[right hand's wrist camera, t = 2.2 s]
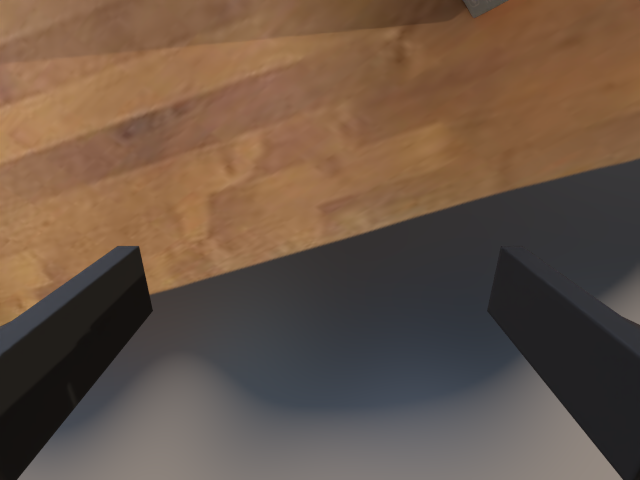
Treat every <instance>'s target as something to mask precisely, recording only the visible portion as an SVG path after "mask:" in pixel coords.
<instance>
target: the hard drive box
mask: <svg viewBox="0 0 640 480" xmlns="http://www.w3.org/2000/svg"><path fill="white" fill-rule="evenodd" d="M463 1H464V3H465V5H466V6H467V8H468V10H469V12H470V14H471V15H472V17H473V18H476V17H478V16H480V15H481V14H483V13H485V12H487V11H489V10H491V9H493V8H495V7H497V6H499V5H500V4H502V3H504V2H506V1H508V0H463Z"/></svg>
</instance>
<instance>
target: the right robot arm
mask: <svg viewBox="0 0 640 480" xmlns="http://www.w3.org/2000/svg"><path fill="white" fill-rule="evenodd" d="M152 311H153V310H152V305H151V300H150V296H149V291H148V286H147V282H146V277H145V272H144V268H143V263H142V258H141V254H140V249H139V246H117V247H116V248H114V249H113V250H112V251H110V252H109V253H107V254H106V255H105V256H103V257H102V258H100V259H99V260H97V261H96V262H95V263H93V264H92V265H90V266H89V267H88V268H86V269H85V270H83V271H82V272H80V273H79V274H78V275H76V276H75V277H73V278H72V279H71V280H69V281H68V282H66V283H65V284H64V285H62V286H61V287H59V288H58V289H56V290H55V291H54V292H52V293H51V294H49V295H48V296H47V297H45V298H44V299H42V300H41V301H39V302H38V303H37V304H35V305H34V306H32V307H31V308H30V309H28V310H27V311H25V312H24V313H23V314H21V315H20V316H18V317H17V318H15V319H14V320H13V321H11V322H9V323H7V324H5V325H2V326H0V480H17V479H18V478H19V476H20V475H21V474H22V473H23V471H24V470H25V469H26V468H27V466H28V465H29V464H30V463H31V462H32V460H33V459H34V458H35V457H36V455H37V454H38V453H39V452H40V450H41V449H42V448H43V447H44V445H45V444H46V443H47V442H48V440H49V439H50V438H51V437H52V435H53V434H54V433H55V432H56V430H57V429H58V428H59V427H60V425H61V424H62V423H63V422H64V421H65V419H66V418H67V417H68V416H69V414H70V413H71V412H72V411H73V409H74V408H75V407H76V406H77V404H78V403H79V402H80V401H81V399H82V398H83V397H84V396H85V394H86V393H87V392H88V391H89V389H90V388H91V387H92V386H93V385H94V383H95V382H96V381H97V379H98V378H99V377H100V376H101V375H102V373H103V372H104V371H105V370H106V368H107V367H108V366H109V365H110V363H111V362H112V361H113V360H114V358H115V357H116V356H117V355H118V353H119V352H120V351H121V350H122V348H123V347H124V346H125V345H126V344H127V342H128V341H129V340H130V339H131V337H132V336H133V335H134V333H135V332H136V331H137V330H138V329H139V327H140V326H141V325H142V324H143V322H144V321H145V320H146V319H147V317H148V316H149V315H150V314H151V312H152ZM487 311H488V312H489V314H490V315H491V316H492V317H493V319H494V320H495V321H496V322H497V324H498V325H499V326H500V327H501V329H502V330H503V331H504V332H505V334H506V335H507V336H508V337H509V339H510V340H511V341H512V342H513V343H514V345H515V346H516V347H517V348H518V350H519V351H520V352H521V353H522V355H523V356H524V357H525V358H526V360H527V361H528V362H529V363H530V365H531V366H532V367H533V368H534V370H535V371H536V372H537V373H538V375H539V376H540V377H541V378H542V380H543V381H544V382H545V383H546V385H547V386H548V387H549V388H550V389H551V391H552V392H553V393H554V394H555V396H556V397H557V398H558V399H559V401H560V402H561V403H562V404H563V406H564V407H565V408H566V409H567V411H568V412H569V413H570V414H571V415H572V417H573V418H574V419H575V421H576V422H577V423H578V424H579V426H580V427H581V428H582V429H583V430H584V432H585V433H586V434H587V435H588V437H589V438H590V439H591V440H592V442H593V443H594V444H595V445H596V447H597V448H598V449H599V450H600V452H601V453H602V454H603V455H604V456H605V458H606V459H607V460H608V462H609V463H610V464H611V465H612V466H613V468H614V469H615V470H616V471H617V473H618V474H619V475H620V476H621V478H622V479H623V480H640V325H639V324H637V323H634V322H632V321H630V320H628V319H626V318H624V317H622V316H620V315H619V314H617V313H616V312H615V311H613V310H612V309H610V308H609V307H608V306H606V305H605V304H603V303H602V302H601V301H599V300H598V299H596V298H595V297H593V296H592V295H591V294H589V293H588V292H586V291H585V290H583V289H582V288H581V287H579V286H578V285H576V284H575V283H574V282H572V281H571V280H569V279H568V278H567V277H565V276H564V275H562V274H561V273H560V272H558V271H557V270H555V269H554V268H552V267H551V266H550V265H548V264H547V263H545V262H544V261H543V260H541V259H540V258H538V257H537V256H535V255H534V254H533V253H531V252H530V251H528V250H527V249H526V248H524V247H523V246H501V249H500V254H499V258H498V263H497V268H496V272H495V277H494V282H493V286H492V291H491V296H490V300H489V305H488V310H487Z"/></svg>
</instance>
